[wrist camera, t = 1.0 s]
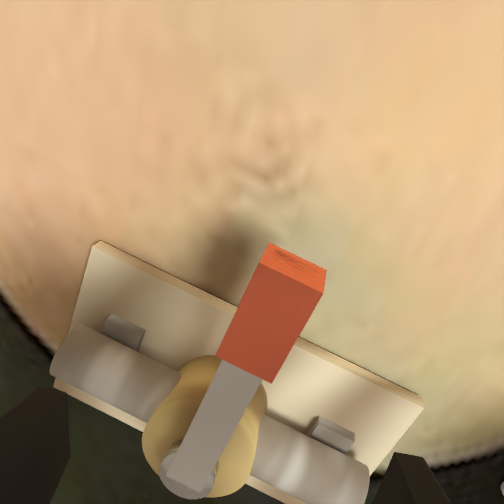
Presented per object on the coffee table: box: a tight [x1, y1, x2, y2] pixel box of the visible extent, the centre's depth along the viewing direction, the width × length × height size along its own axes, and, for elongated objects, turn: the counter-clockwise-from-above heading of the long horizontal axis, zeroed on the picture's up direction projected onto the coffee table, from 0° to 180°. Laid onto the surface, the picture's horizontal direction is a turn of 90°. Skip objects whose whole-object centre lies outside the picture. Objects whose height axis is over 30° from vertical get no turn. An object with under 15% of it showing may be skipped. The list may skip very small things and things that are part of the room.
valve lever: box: [159, 243, 327, 499], centre depth 17 cm, size 12×2×2 cm, turn 157°
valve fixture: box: [50, 241, 424, 504], centre depth 22 cm, size 18×10×5 cm, turn 67°
